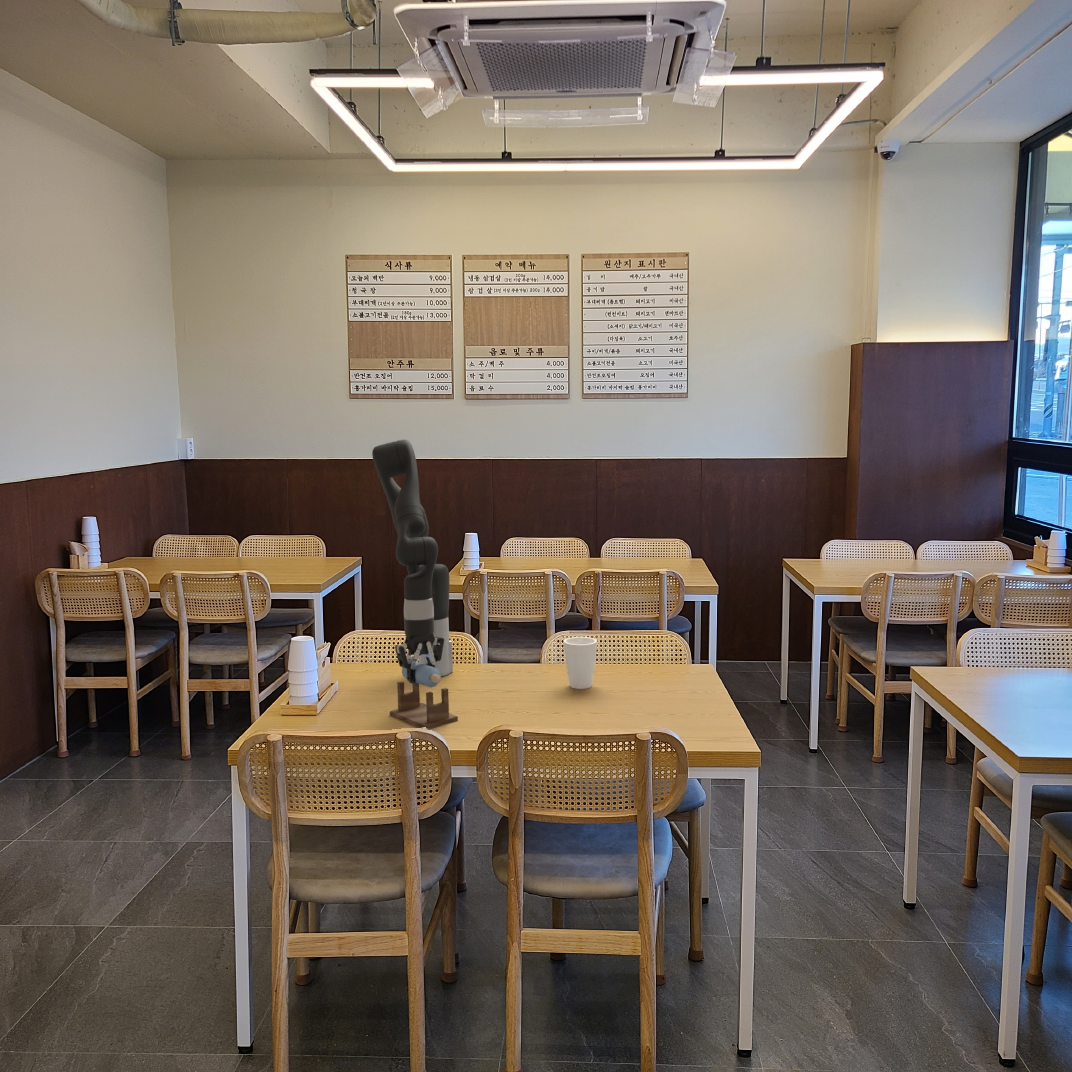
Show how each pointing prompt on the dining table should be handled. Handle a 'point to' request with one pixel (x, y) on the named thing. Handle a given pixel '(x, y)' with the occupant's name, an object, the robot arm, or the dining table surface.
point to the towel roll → (425, 674)
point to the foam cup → (580, 661)
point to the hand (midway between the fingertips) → (421, 680)
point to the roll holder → (422, 708)
